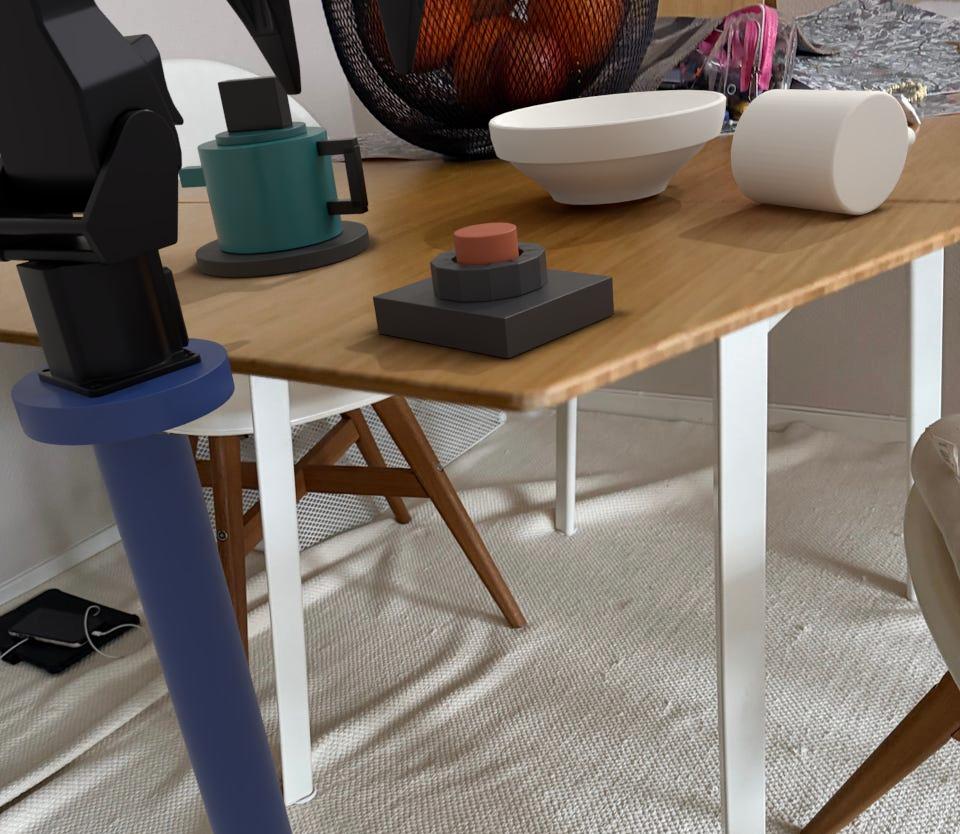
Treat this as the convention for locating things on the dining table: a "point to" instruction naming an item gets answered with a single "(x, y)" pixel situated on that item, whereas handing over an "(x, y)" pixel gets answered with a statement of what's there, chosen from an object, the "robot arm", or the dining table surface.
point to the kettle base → (283, 255)
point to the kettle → (273, 173)
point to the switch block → (494, 304)
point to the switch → (486, 243)
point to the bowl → (608, 142)
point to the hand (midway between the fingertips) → (351, 84)
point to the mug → (821, 149)
